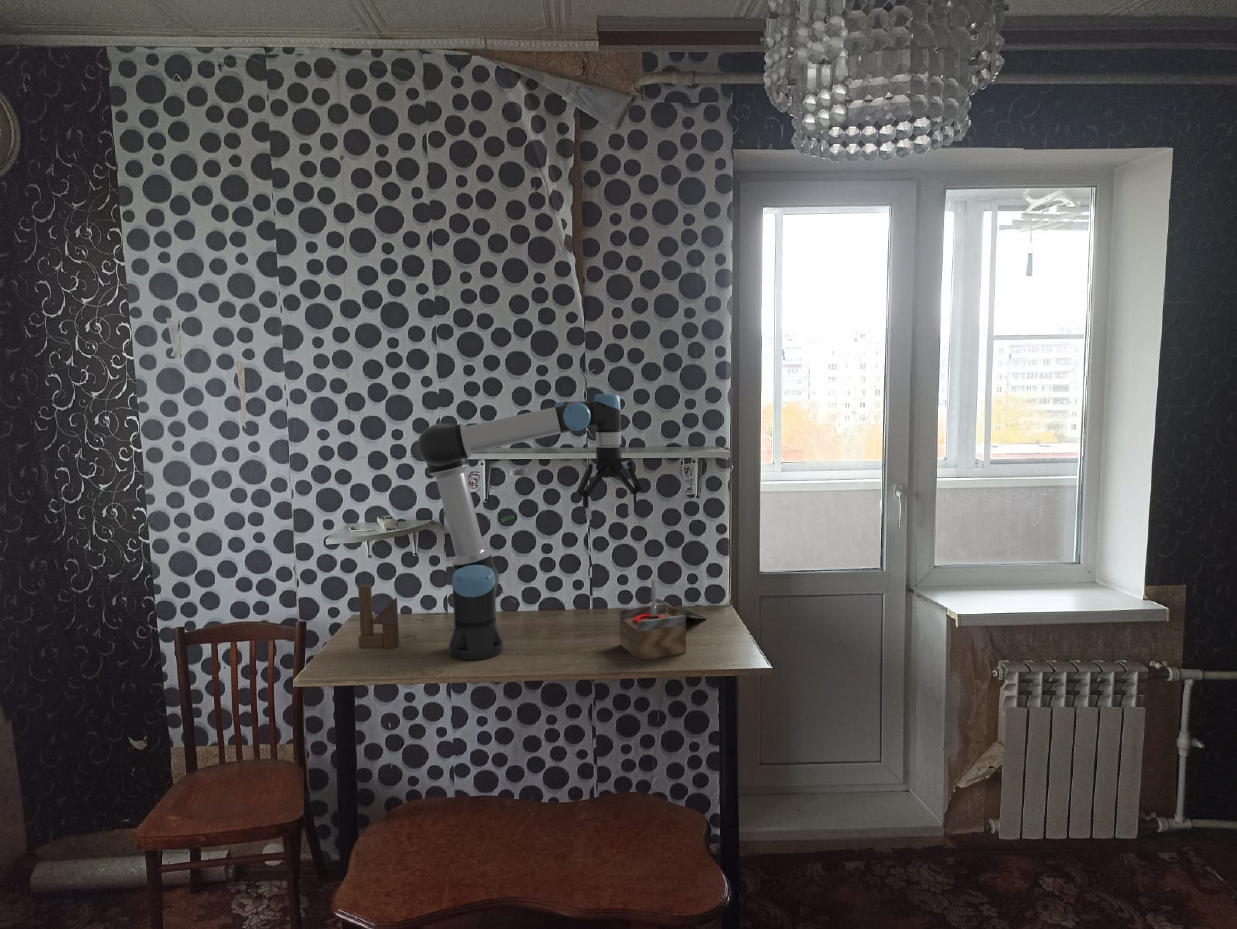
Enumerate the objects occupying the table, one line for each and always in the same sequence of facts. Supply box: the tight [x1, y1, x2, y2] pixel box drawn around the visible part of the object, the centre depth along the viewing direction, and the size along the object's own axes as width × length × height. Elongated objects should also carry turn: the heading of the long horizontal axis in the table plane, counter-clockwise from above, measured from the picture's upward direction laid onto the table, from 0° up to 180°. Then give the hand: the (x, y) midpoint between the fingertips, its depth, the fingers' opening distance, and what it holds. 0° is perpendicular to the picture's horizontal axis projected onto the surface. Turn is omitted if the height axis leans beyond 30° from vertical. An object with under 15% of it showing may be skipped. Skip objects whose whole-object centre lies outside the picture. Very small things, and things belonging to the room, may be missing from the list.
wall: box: [647, 596, 707, 620], centre depth 244 cm, size 16×9×15 cm
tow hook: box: [633, 578, 664, 623], centre depth 220 cm, size 8×13×9 cm
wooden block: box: [357, 584, 400, 649], centre depth 227 cm, size 4×11×18 cm, turn 86°
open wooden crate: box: [619, 603, 687, 661], centre depth 221 cm, size 14×14×10 cm
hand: (610, 516), depth 236 cm, fingers open, 13 cm apart
